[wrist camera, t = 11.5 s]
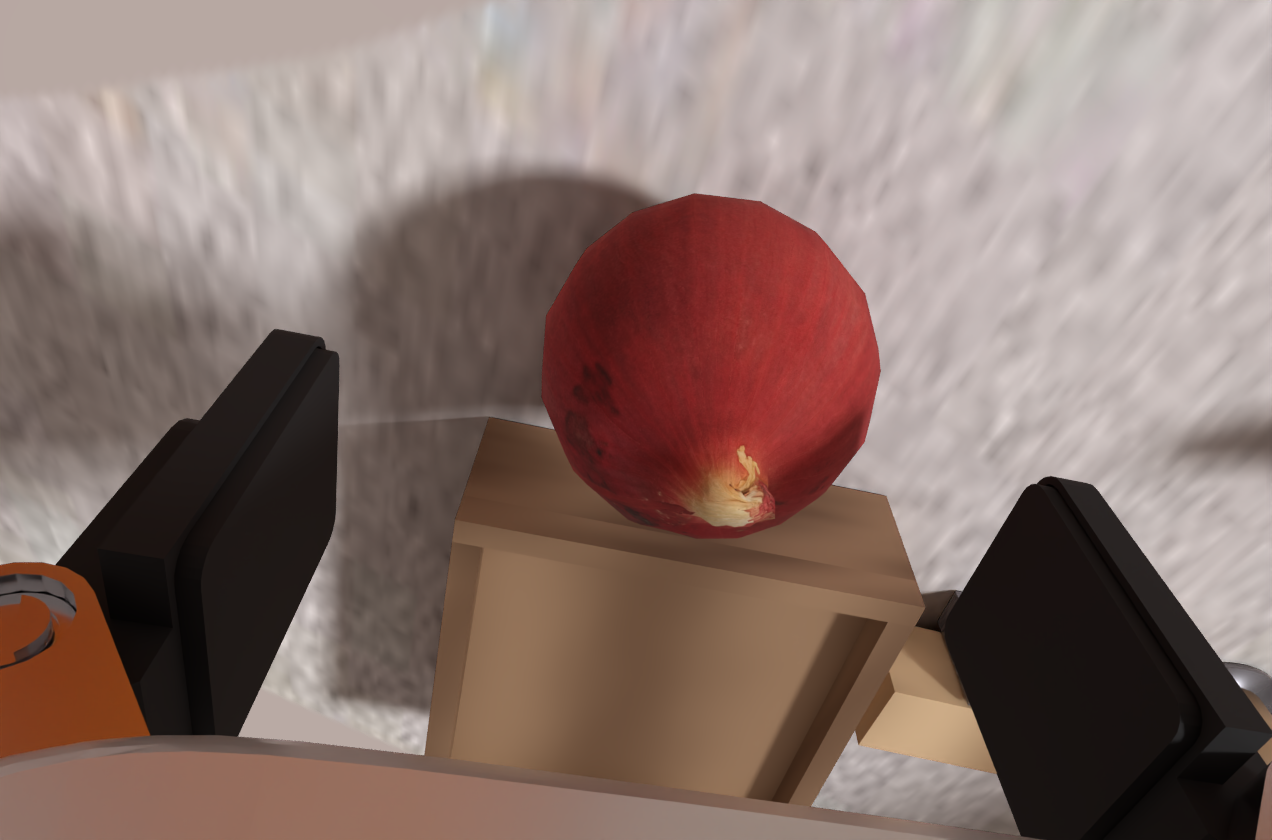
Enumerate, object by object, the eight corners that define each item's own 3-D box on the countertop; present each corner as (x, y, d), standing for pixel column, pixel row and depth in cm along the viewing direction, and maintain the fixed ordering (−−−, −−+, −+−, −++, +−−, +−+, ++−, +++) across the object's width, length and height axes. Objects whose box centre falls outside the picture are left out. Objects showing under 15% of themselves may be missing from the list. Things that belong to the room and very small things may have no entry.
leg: (1288, 699, 24) (1348, 777, 22) (1217, 763, 26) (1266, 842, 24) (881, 604, 22) (904, 679, 20) (834, 680, 24) (850, 756, 22)
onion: (681, 439, 20) (687, 719, 13) (508, 269, 18) (412, 505, 11) (889, 294, 18) (1022, 544, 11) (722, 79, 16) (762, 231, 9)
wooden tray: (886, 496, 21) (925, 607, 18) (766, 739, 26) (780, 858, 23) (489, 417, 20) (455, 520, 17) (449, 686, 25) (418, 802, 22)
